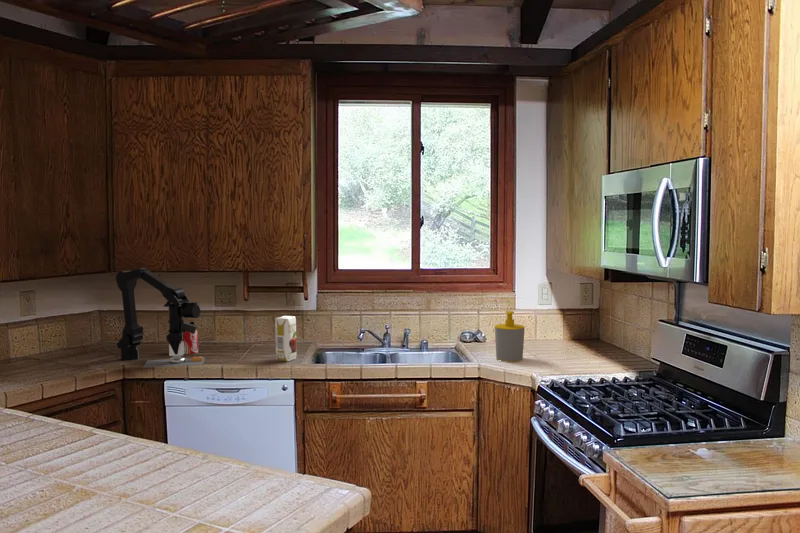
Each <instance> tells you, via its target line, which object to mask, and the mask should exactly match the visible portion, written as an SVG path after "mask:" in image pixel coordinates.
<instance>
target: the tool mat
mask: <svg viewBox="0 0 800 533" xmlns="http://www.w3.org/2000/svg"><path fill="white" fill-rule="evenodd" d="M169 359H170V358H167V359H165V358H163V359H149V360H148V359H147V360H146V362H145V364H144V365H143V366H142V368H143V369H145V368H146V369H147V368H162V367H163V368H164V367H176V366H177V367H178V366H179V367H181V366H194V365H195V366H196V365H204V364H205V363H204V362H205V359H206V357H205V356H202V361H198V362H184V363H179V364H171V363H169Z"/></svg>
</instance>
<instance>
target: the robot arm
mask: <svg viewBox="0 0 800 533" xmlns="http://www.w3.org/2000/svg"><path fill="white" fill-rule="evenodd" d="M138 280H142V281H144V282H145V283H147V284H149V285H150V286H151V287H153V288H155V290H157V291H159V292H160V293H161V295H162V297H164V299H165V300H166V301H167V302H166V303H165V304H164V305H163V307H166V308H168V321H167V322H168V333H167V334H166V341H167V342H168V343H169V344H170V346H171V348H172V350H173V352H174V354H175V355H177V354H178V349H179V343H180V342H181V341H182V340H183V337H184V335H185V334H182V332H184V333H186V331H187V332H190V333H192V334H195V331H196V330H197V328H198V325H197V324H195V321H194V320H191V321H189V322H186V321H185V319H184V318H188V319H189V318H190V319H198V318H199V317H200V315H201V308H200V305H199V304H198V302H197V301H190V299H189V298H188V296H187V295H186V293H185V290H184V289H183V288H182V287H180V286H179V285H178V286H177V285H175V284H171V283H168V282H167V281H166V280H164V279H162V278H161V277H160V276H158V275H156V274H155V273H153V272H152V271H151V270H149V269H148V268H147V267H141V268H137V269H134V270H124V271H123V270H121V271H119V272H118V273H117V274H116V275H115V282H116V285H117V288H118V289H119V291H121V298H122V308H123V318H124V326H123V329H122V332H121V338H120V340H118V342H117V343H116V347H117V349H120V358H121V359H120V360H121V361H127V362H129V361H135V360H139V359H140V352H139V349H138V346H140V345H141V342H142V340H143V338H144V336H145V333H144V327H143V326H140V325H139V323H138V320H137V319H138V318H137V309H136V300H135V289H136V287H137V284H138V283H137V282H138ZM169 344H168V345H169Z"/></svg>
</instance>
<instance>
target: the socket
mask: <svg viewBox="0 0 800 533" xmlns="http://www.w3.org/2000/svg"><path fill="white" fill-rule="evenodd" d="M168 351H169V352H168V355H169V356H170V357H173V356H178V355H181V356H184V355H185V354H184V341H181V342H180V343H179V349H178V354H177V355H175V354H174V352H173V350H172V348H171V346H170V344H168Z"/></svg>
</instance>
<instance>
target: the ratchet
mask: <svg viewBox="0 0 800 533" xmlns="http://www.w3.org/2000/svg"><path fill="white" fill-rule="evenodd" d="M202 357H203V356H191V357H185V356H182V355H178V356H172V357H170V358H168V359H169V363H171V364H179V363H184V362H198V361H202Z"/></svg>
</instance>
